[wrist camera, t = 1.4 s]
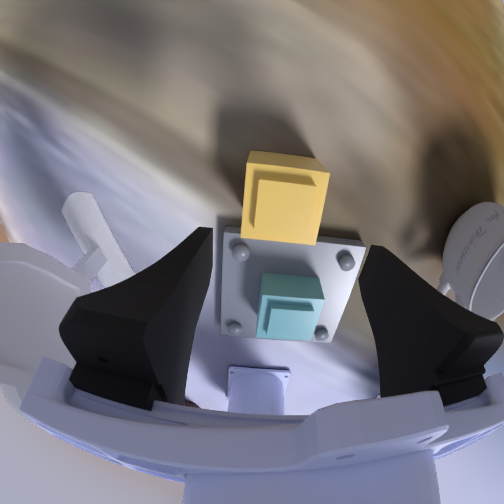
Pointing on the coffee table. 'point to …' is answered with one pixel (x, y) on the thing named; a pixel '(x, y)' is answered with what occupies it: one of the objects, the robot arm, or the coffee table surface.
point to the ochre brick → (283, 197)
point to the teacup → (476, 260)
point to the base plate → (285, 261)
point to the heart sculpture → (50, 294)
